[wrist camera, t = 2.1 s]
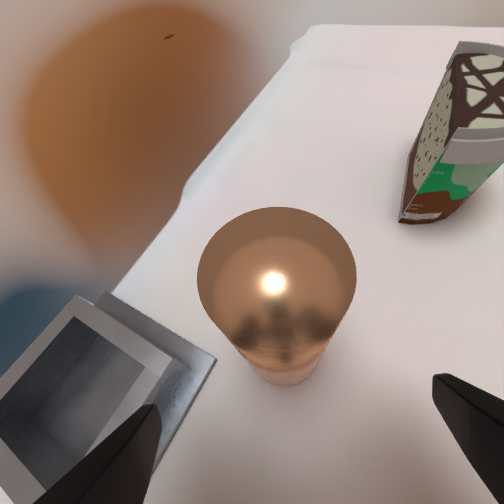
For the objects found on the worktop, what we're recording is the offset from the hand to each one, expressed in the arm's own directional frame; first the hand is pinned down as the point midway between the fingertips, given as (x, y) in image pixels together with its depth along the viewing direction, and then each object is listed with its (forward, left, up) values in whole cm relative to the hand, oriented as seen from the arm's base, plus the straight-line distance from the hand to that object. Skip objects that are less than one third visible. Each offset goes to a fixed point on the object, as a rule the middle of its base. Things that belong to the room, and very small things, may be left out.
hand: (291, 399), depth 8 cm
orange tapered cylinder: (+3, +2, -10) cm, 11 cm away
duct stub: (-6, +12, -10) cm, 17 cm away
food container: (+23, -5, -11) cm, 26 cm away
